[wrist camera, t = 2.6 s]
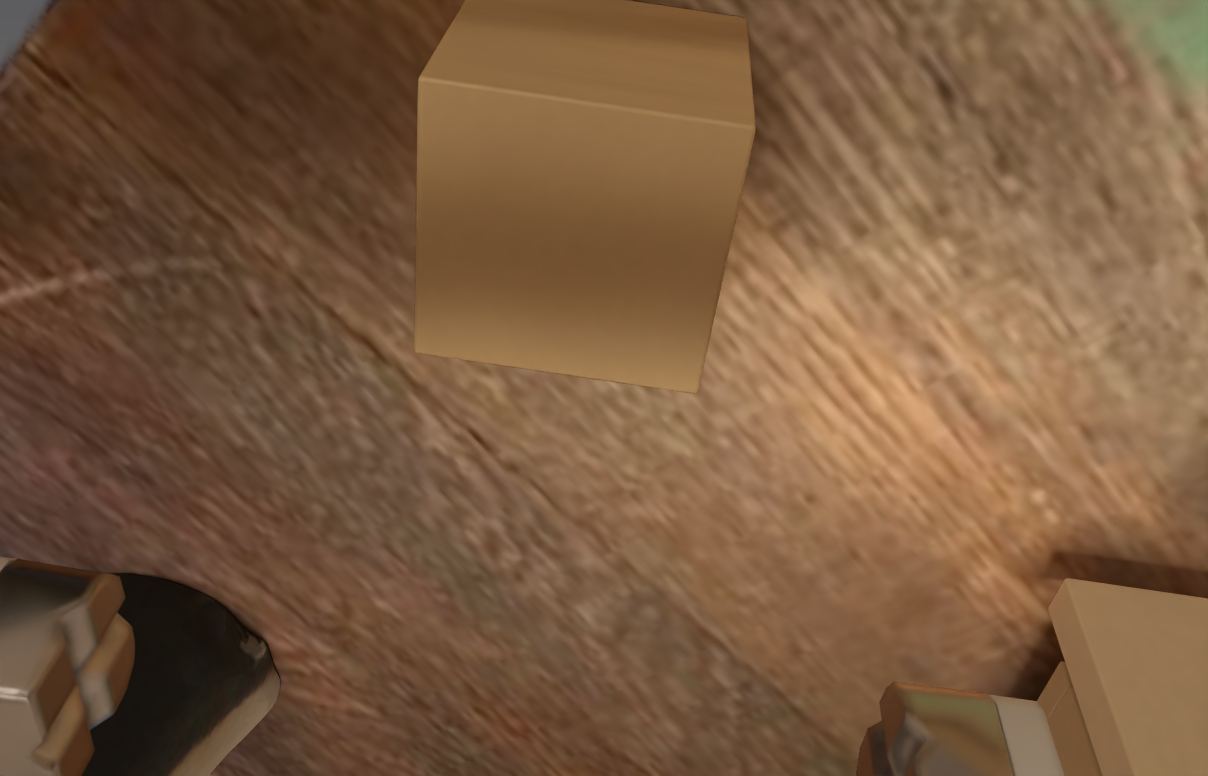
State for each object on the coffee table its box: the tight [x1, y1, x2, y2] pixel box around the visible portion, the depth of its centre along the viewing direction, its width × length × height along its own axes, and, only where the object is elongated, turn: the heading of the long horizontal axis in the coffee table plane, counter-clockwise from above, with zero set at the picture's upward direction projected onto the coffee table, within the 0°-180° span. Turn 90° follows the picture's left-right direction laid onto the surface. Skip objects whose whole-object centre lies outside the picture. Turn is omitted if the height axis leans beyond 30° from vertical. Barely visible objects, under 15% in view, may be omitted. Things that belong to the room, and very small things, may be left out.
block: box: [414, 0, 756, 394], centre depth 19 cm, size 5×5×5 cm
